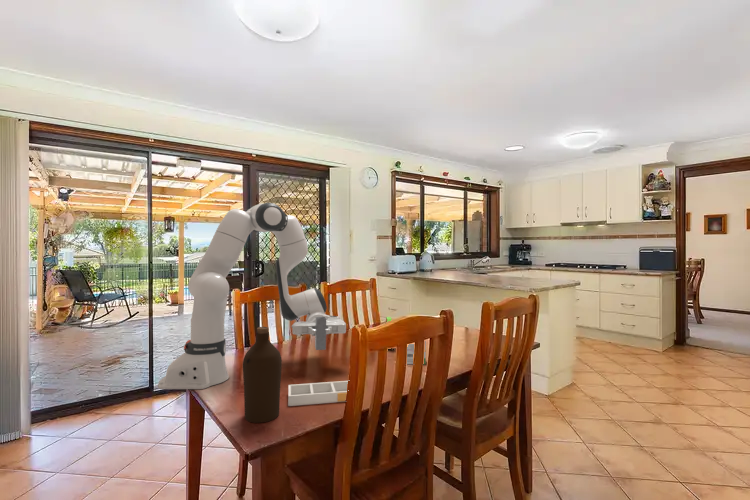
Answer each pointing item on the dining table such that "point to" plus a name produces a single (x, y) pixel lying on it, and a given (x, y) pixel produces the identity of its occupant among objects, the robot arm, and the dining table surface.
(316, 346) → the dark grey metallic block
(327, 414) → the dining table surface
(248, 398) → the olive oil
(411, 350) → the ink box
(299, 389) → the rack
